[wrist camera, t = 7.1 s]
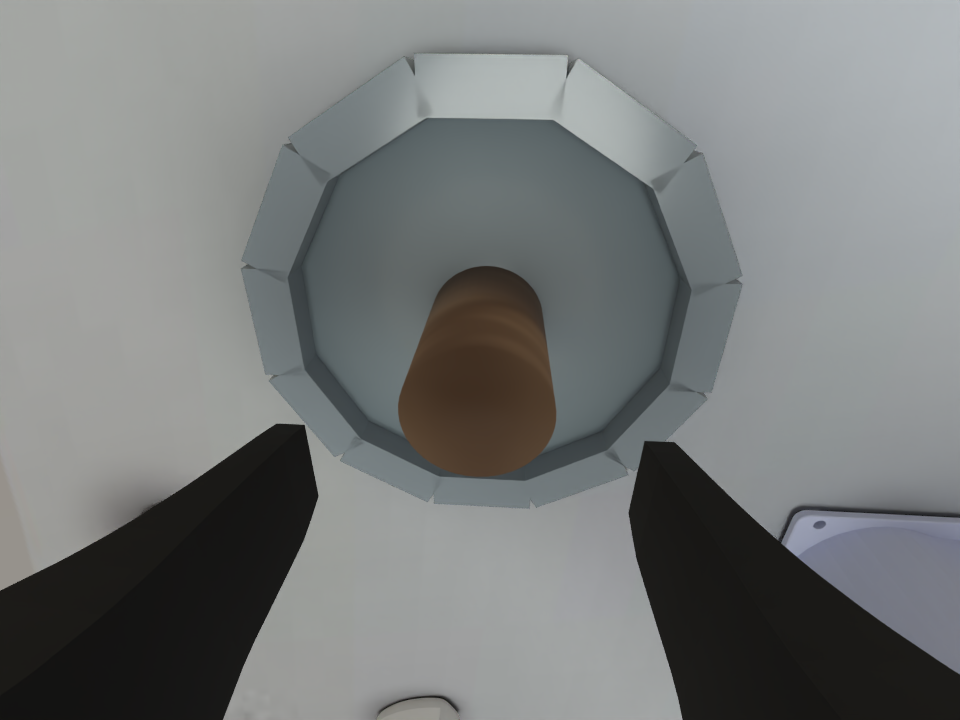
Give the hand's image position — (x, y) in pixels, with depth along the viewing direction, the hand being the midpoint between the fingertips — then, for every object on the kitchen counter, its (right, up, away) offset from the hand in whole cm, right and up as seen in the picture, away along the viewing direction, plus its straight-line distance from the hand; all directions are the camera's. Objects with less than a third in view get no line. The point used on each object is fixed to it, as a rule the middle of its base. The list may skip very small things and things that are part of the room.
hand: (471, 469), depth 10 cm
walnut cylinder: (0, +4, +7) cm, 8 cm away
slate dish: (+1, +4, +8) cm, 9 cm away
